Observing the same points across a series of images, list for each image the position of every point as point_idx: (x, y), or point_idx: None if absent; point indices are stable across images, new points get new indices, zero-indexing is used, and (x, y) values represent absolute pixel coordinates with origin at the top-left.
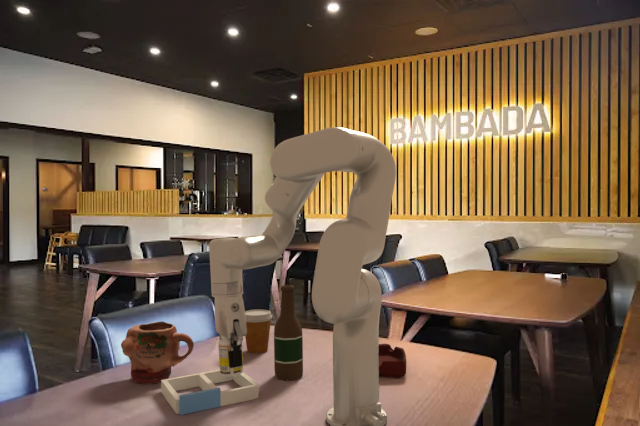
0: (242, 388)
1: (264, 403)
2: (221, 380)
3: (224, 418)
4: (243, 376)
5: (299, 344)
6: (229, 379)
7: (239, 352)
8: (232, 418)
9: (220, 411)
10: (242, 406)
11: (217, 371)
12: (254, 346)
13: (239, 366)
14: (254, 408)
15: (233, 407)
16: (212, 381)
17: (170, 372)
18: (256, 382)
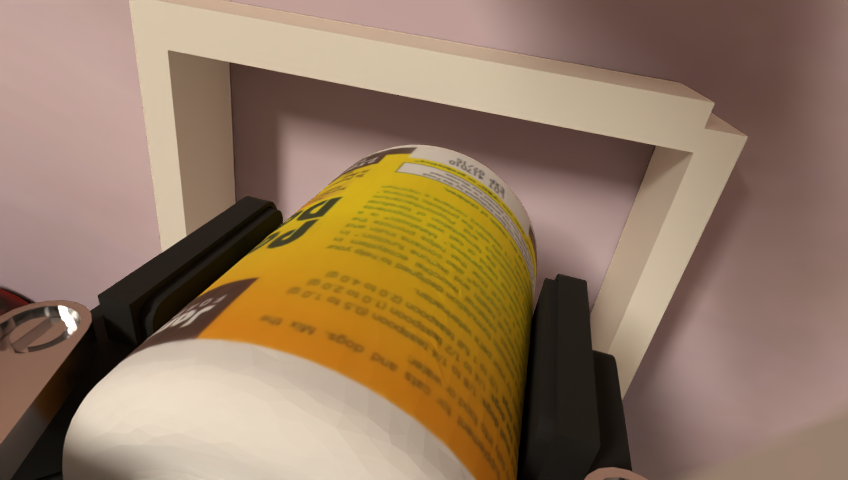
0: (681, 269)
1: (841, 128)
2: (225, 136)
3: (771, 418)
4: (426, 96)
5: None
6: (223, 72)
7: (628, 468)
8: (817, 397)
9: (667, 382)
10: (725, 268)
11: (184, 188)
12: None
13: (534, 274)
14: (836, 235)
15: (685, 311)
16: (226, 199)
17: (4, 305)
18: (669, 96)
